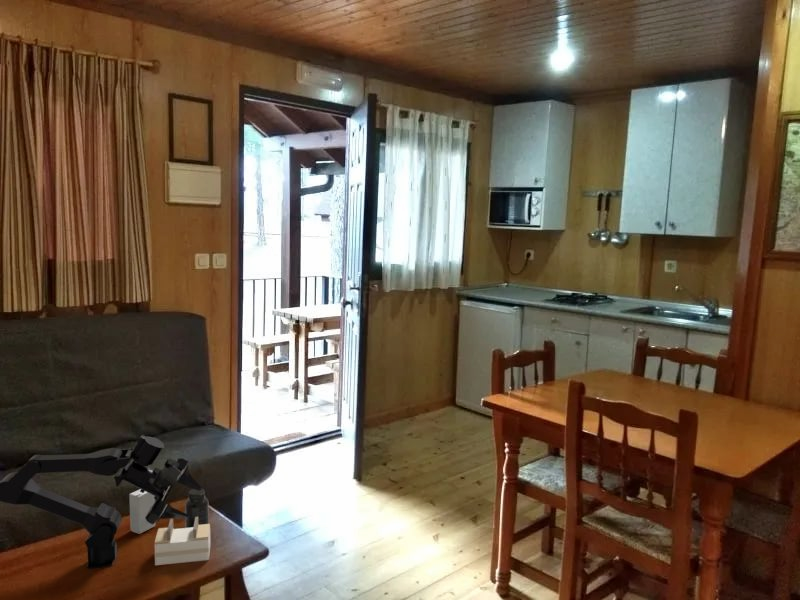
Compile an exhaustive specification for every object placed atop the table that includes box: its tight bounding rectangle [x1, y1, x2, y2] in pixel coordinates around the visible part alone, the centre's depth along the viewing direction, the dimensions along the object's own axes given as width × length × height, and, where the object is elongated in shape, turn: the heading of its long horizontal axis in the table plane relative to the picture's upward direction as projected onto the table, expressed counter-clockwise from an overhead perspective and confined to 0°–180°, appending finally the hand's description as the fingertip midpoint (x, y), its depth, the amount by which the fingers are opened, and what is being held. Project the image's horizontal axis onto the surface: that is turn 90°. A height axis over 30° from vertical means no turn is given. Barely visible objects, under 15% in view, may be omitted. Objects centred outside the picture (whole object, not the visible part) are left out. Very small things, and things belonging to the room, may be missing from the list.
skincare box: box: [128, 488, 156, 535], centre depth 187 cm, size 6×4×12 cm
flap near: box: [154, 518, 175, 544], centre depth 171 cm, size 4×8×3 cm, turn 14°
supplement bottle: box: [184, 488, 210, 528], centre depth 188 cm, size 7×7×12 cm
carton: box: [154, 527, 211, 566], centre depth 173 cm, size 14×8×6 cm, turn 104°
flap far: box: [193, 517, 211, 540], centre depth 174 cm, size 4×8×3 cm, turn 14°
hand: (194, 503), depth 173 cm, fingers open, 9 cm apart
